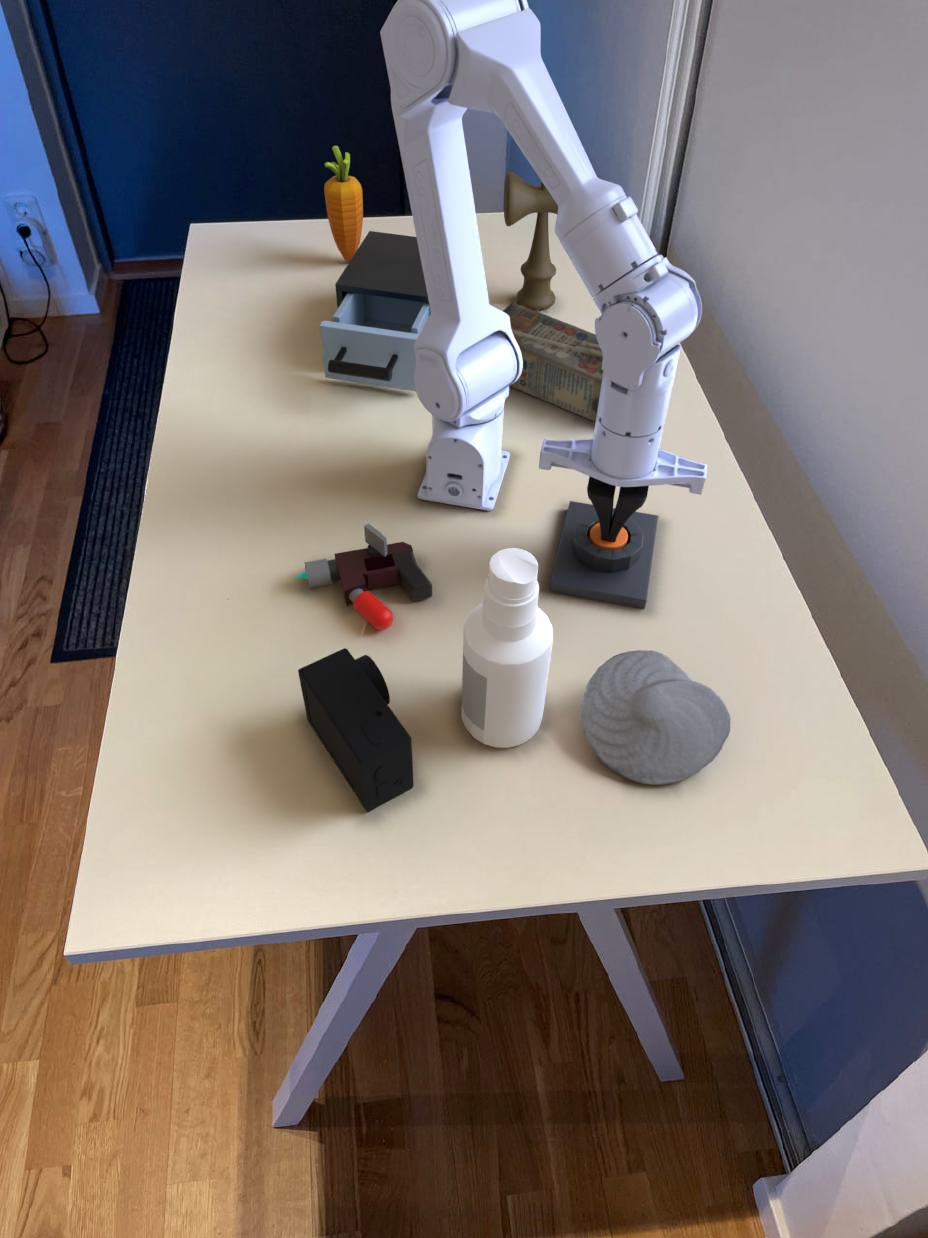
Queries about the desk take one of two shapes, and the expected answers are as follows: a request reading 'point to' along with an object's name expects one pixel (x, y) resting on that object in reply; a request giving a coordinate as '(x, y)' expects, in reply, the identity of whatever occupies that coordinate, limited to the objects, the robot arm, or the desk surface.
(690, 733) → the seashell
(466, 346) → the robot arm
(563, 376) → the beverage carton
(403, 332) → the light blue drawer
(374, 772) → the digital camera
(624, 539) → the button
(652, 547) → the panel
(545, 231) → the kendama
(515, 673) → the white plastic bottle
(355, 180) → the carrot
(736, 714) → the desk surface
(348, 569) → the toy gun
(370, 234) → the drawer cabinet
